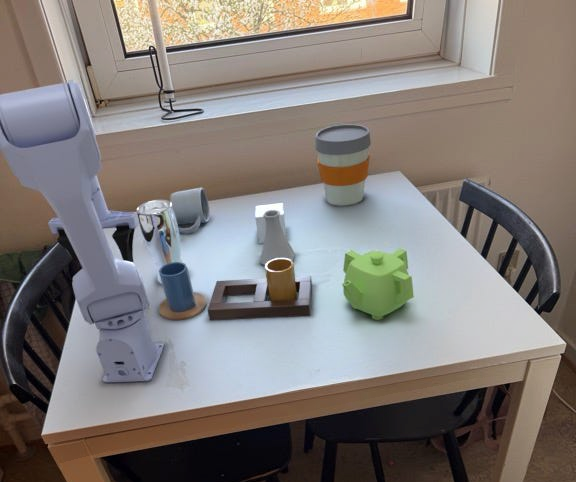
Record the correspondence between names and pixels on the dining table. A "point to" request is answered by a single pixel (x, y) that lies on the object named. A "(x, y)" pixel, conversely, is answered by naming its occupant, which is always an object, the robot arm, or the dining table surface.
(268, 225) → the flask
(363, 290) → the teapot
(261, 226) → the white cube
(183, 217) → the ceramic mug
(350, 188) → the reusable coffee cup
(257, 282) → the cup holder
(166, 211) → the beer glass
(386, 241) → the dining table surface
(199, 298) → the coaster
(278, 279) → the ochre cup
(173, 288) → the blue cup
